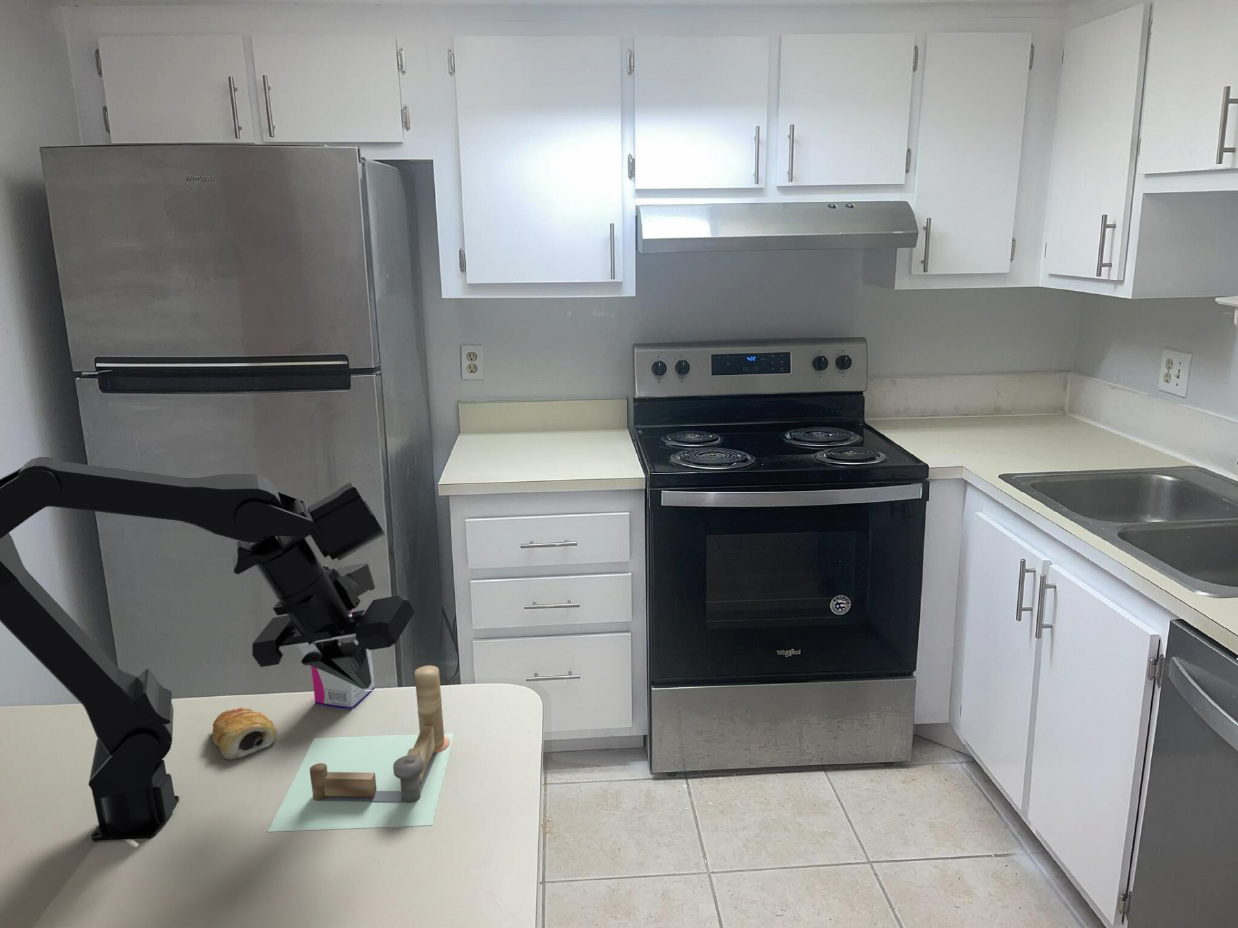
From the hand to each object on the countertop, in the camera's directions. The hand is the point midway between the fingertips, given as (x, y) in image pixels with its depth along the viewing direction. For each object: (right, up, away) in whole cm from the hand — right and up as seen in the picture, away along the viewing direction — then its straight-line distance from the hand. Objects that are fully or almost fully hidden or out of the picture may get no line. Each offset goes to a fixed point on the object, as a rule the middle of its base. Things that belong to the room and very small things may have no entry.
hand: (367, 685), depth 103 cm
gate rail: (+6, -9, 0) cm, 11 cm away
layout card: (+1, -10, -2) cm, 11 cm away
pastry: (-17, -9, +6) cm, 20 cm away
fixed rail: (+1, -11, -5) cm, 12 cm away
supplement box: (-7, -6, +16) cm, 19 cm away
